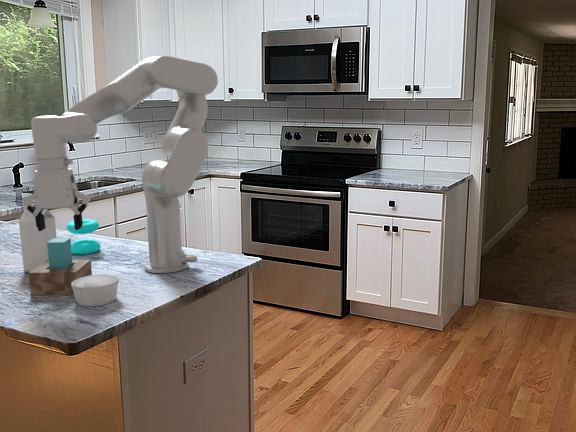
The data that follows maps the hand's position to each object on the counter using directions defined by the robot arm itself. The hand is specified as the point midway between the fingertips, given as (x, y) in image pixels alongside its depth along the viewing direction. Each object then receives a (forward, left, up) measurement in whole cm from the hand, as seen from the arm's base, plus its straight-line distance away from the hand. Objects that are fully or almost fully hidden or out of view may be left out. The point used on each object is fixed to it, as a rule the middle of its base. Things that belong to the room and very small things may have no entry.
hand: (60, 229), depth 162 cm
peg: (0, 0, -15) cm, 15 cm away
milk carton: (+14, -18, -16) cm, 27 cm away
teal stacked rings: (+8, -38, -16) cm, 42 cm away
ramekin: (-12, +11, -16) cm, 23 cm away
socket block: (+1, 0, -16) cm, 16 cm away
